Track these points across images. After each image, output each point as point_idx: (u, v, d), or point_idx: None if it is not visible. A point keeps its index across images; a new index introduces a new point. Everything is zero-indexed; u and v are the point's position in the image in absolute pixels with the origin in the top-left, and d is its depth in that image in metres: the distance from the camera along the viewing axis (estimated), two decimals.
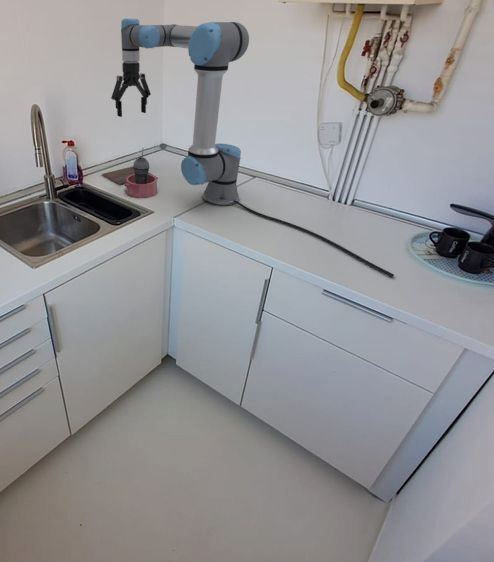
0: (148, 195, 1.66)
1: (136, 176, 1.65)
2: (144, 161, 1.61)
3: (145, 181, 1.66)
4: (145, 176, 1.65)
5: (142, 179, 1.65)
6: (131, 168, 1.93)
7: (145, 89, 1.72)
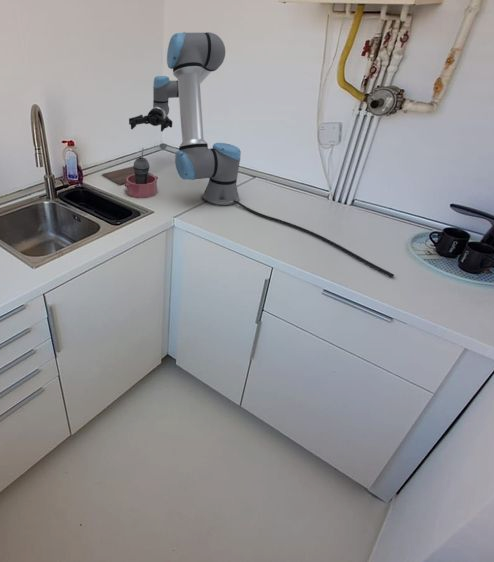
0: (148, 195, 1.66)
1: (136, 176, 1.65)
2: (144, 161, 1.61)
3: (145, 181, 1.66)
4: (145, 176, 1.65)
5: (142, 179, 1.65)
6: (131, 168, 1.93)
7: None
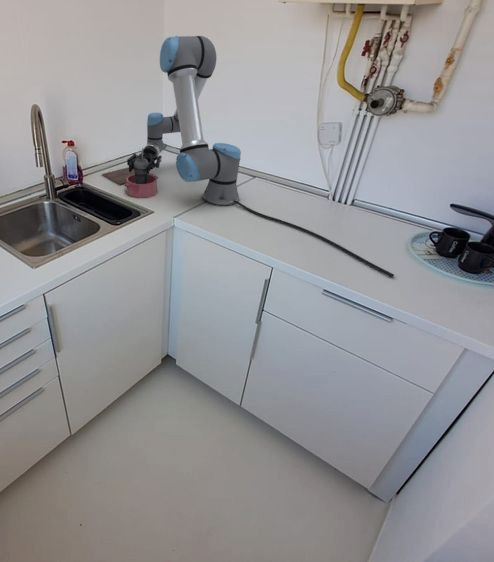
0: (148, 195, 1.66)
1: (136, 176, 1.65)
2: (144, 161, 1.61)
3: (145, 181, 1.66)
4: (145, 176, 1.65)
5: (142, 179, 1.65)
6: None
7: None
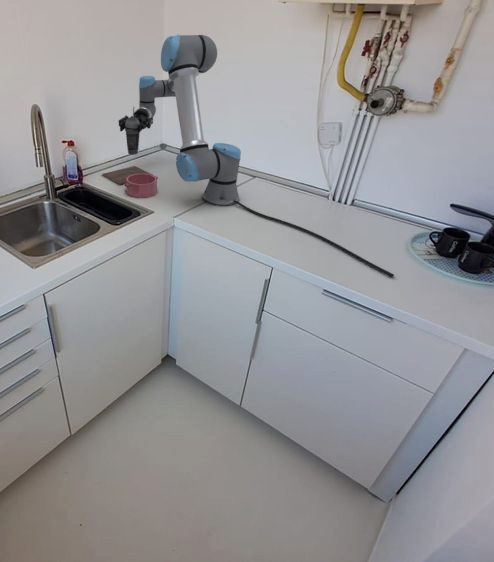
0: (148, 195, 1.66)
1: (127, 136, 1.65)
2: (135, 120, 1.61)
3: (136, 142, 1.67)
4: (136, 136, 1.65)
5: (133, 139, 1.65)
6: (131, 168, 1.93)
7: None
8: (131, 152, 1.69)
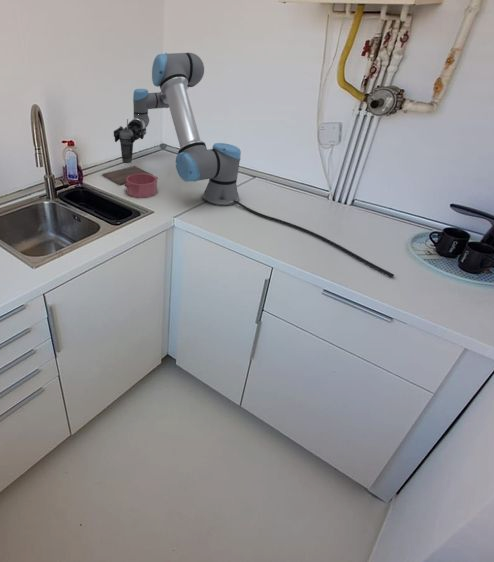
0: (148, 195, 1.66)
1: (122, 146, 1.77)
2: (129, 132, 1.73)
3: (130, 151, 1.78)
4: (130, 146, 1.76)
5: (127, 149, 1.76)
6: (131, 168, 1.93)
7: None
8: (125, 161, 1.81)
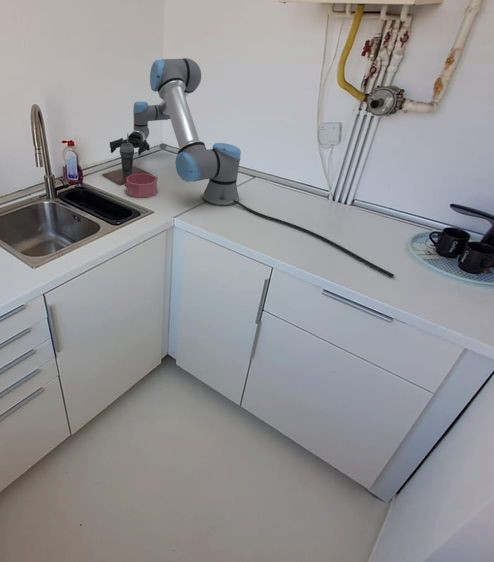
0: (148, 195, 1.66)
1: (122, 159, 1.80)
2: (129, 145, 1.76)
3: (130, 164, 1.82)
4: (130, 159, 1.80)
5: (128, 162, 1.80)
6: None
7: None
8: (126, 173, 1.84)
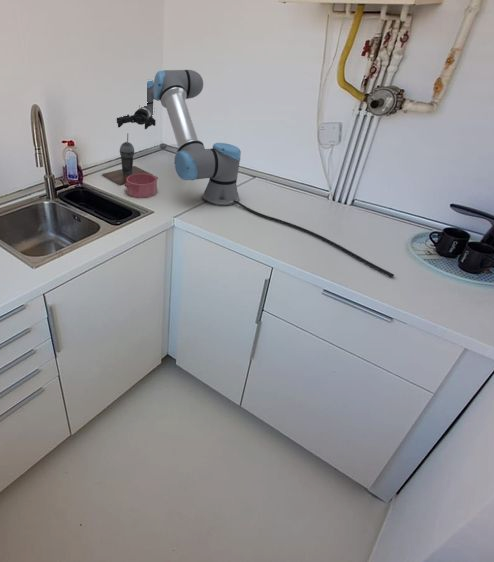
0: (148, 195, 1.66)
1: (122, 159, 1.80)
2: (129, 145, 1.76)
3: (130, 164, 1.82)
4: (130, 159, 1.80)
5: (128, 162, 1.80)
6: None
7: None
8: (126, 173, 1.84)
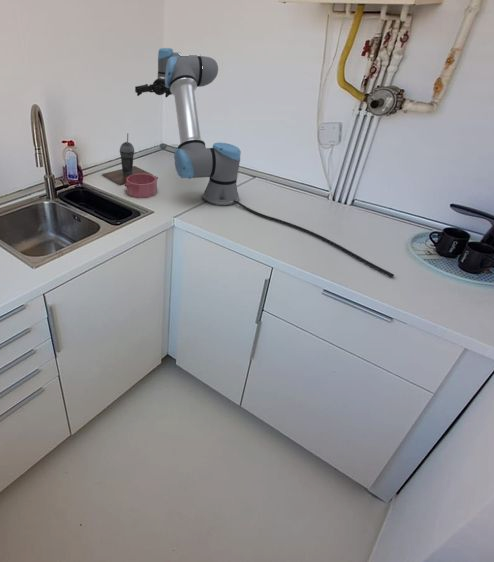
0: (148, 195, 1.66)
1: (122, 159, 1.80)
2: (129, 145, 1.76)
3: (130, 164, 1.82)
4: (130, 159, 1.80)
5: (128, 162, 1.80)
6: None
7: None
8: (126, 173, 1.84)
